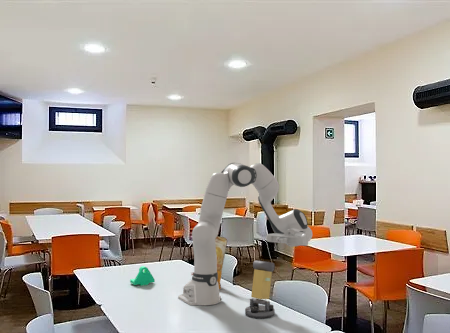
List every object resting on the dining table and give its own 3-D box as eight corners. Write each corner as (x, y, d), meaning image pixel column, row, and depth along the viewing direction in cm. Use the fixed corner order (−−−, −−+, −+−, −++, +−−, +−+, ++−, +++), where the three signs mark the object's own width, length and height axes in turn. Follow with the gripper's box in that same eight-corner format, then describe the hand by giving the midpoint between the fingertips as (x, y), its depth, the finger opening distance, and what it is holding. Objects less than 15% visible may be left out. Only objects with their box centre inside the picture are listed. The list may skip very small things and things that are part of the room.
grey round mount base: (239, 314, 188) (239, 301, 188) (255, 307, 198) (255, 294, 198) (264, 320, 180) (264, 306, 180) (280, 313, 190) (280, 299, 190)
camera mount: (149, 281, 250) (149, 263, 250) (154, 284, 243) (154, 265, 244) (129, 284, 243) (129, 265, 244) (134, 286, 237) (134, 268, 237)
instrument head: (246, 302, 189) (251, 259, 192) (255, 302, 194) (259, 260, 198) (264, 305, 183) (268, 262, 187) (272, 305, 189) (276, 263, 192)
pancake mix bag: (209, 282, 247) (209, 233, 248) (228, 289, 232) (228, 237, 232) (199, 283, 244) (199, 234, 244) (218, 290, 228) (218, 238, 229)
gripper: (274, 229, 220) (259, 232, 209) (310, 232, 207) (297, 235, 196) (274, 242, 219) (260, 245, 209) (310, 245, 207) (297, 249, 196)
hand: (278, 240), depth 202 cm, fingers closed
